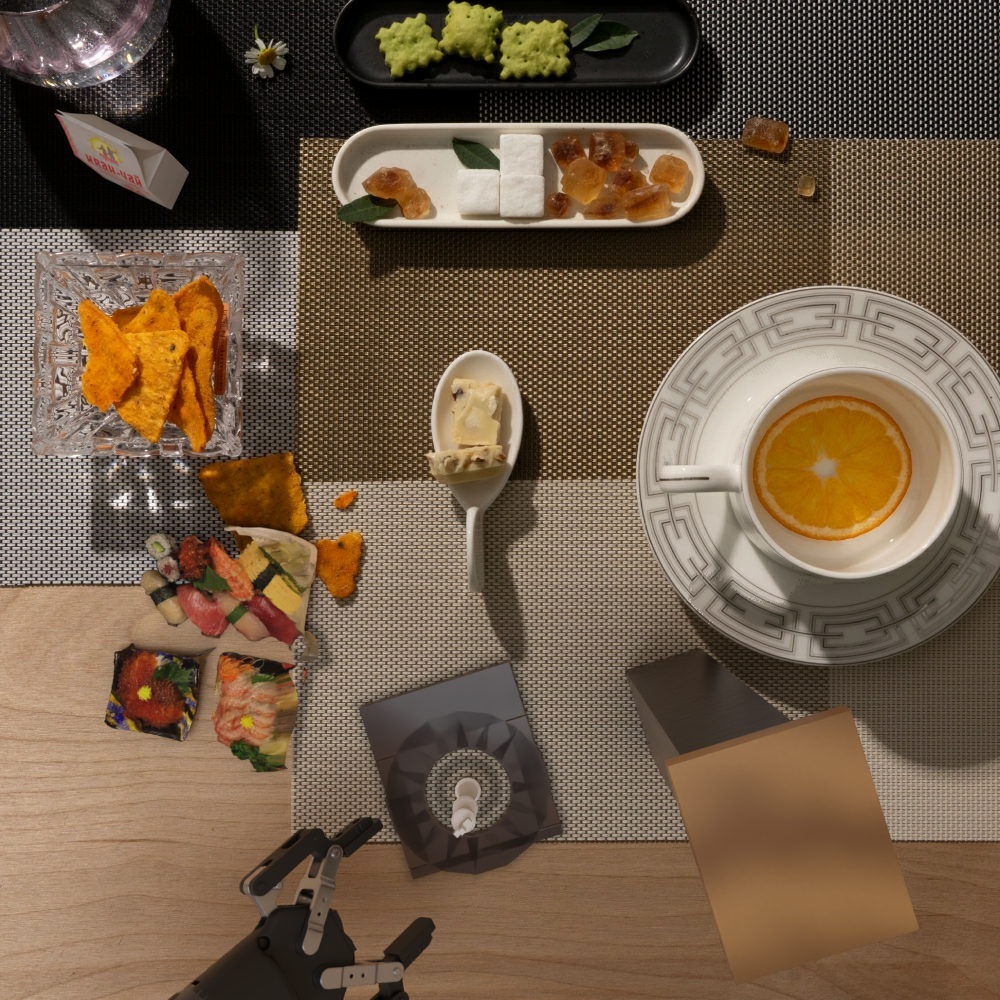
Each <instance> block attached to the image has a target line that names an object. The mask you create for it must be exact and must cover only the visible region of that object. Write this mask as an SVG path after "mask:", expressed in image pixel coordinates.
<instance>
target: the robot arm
mask: <svg viewBox="0 0 1000 1000" xmlns="http://www.w3.org/2000/svg"><path fill="white" fill-rule="evenodd" d="M384 827H385V826H384V824H383V822H382V820H381V818H380V817H371V816H361V817H357V818H354V819H353V820H352V821H350V822H349V823H348V824H347V825H345V827H343V828H342V829H340V830H339V831H338V832H336V834H334V835H333V836H331V837H330V838H329V837H327V836H326V835H325V832H324V830H323V829H322V828H320V827H313V828H299V829H298V830H297V831H296V832H294V833H293V834H292V835H291V836H290V837H288V839H286V840H285V841H284V842H283V843H282V844H281V845H279V846H278V847H277V848H276V849H275V850H274V851H273V852H271V853H269V855H267V857H266V858H264V859H263V860H262V861H261V862H260V863H258V864H257V865H256V866H255V867H254V868H253V869H252V870H251V871H249V872H248V873H247V874H246V875H244V877H242V878H241V879H240V882H239V884H238V888H239V892H240V893H241V894H242V895H245V896H248V897H249V898H250V900H251V901H252V903H253V905H254V906H255V908H256V909H257V911H258V913H259V914H260V919H259V920H258V922H257V924H256V926H255V927H254V928H253V930H252V931H251V932H250V933H249V934H247V936H245V937H244V938H243V939H241V940H240V941H239V942H237V944H235V945H234V946H233V947H231V948H230V949H229V950H227V952H226V953H225V954H224V955H222V956H221V957H220V958H218V959H217V960H216V961H215V962H214V963H212V964H211V965H210V966H208V967H207V968H206V969H205V970H204V971H203V972H202V973H200V974H199V975H198V976H197V977H195V978H194V979H193V980H192V981H191V982H189V983H188V984H187V985H186V986H185V987H183V989H181V990H180V991H179V992H178V991H177V992H175V993H174V994H173V995H171V996H170V997H169V998H168V999H167V1000H344V999H345V996H346V992H347V989H348V988H351V987H363V986H364V987H365V986H373V985H378V991H377V992H376V993H375V994H374V995H373V996H372V997H371V998H370V999H369V1000H410V996H409V993H408V992H406V991H405V987H404V986H405V985H404V975H405V972H406V971H407V969H408V968H409V967H410V966H411V965H412V964H413V963H414V962H415V961H416V960H417V959H418V957H420V955H421V954H422V953H423V952H425V951H426V949H427V948H428V947H429V946H430V945H431V943H432V940H433V938H434V937H433V935H432V934H433V932H435V930H436V928H437V927H436V924H435V923H434V920H433V918H432V917H426V916H418V917H417V918H415V919H414V920H413V921H412V922H411V923H410V924H409V925H408V926H407V927H406V928H405V929H404V930H403V931H401V933H400V934H399V935H398V936H397V937H396V938H395V939H394V940H393V941H392V942H391V943H390V944H389V945H388V946H387V947H386V948H385V949H384V950H383V951H382V953H383V955H384V957H382V958H370V959H356V954H355V952H356V951H357V947H356V945H355V942H354V941H353V939H352V938H351V937H350V936H349V935H348V934H347V933H346V932H345V930H344V925H343V921H342V918H341V917H340V915H339V912H338V911H337V909H333V908H331V906H332V902H333V898H334V895H335V892H336V888H337V884H336V879H337V875H338V873H339V869H340V866H341V862H342V860H343V858H350V857H351V856H352V855H353V854H354V853H356V852H357V851H358V850H359V849H360V848H361V847H362V846H364V845H365V844H366V843H368V842H369V841H370V840H371V839H372V838H373V837H375V835H377V834H378V833H379V832H380V831H382V830H383V828H384ZM309 856H311V857H310V859H309V862H308V865H307V868H306V871H305V874H304V876H302V877H301V879H300V880H299V883H298V885H297V888H296V892H295V895H294V897H293V901H292V903H291V904H278V903H277V899H278V896H279V895H280V893H281V892H282V891H283V888H284V879H285V878H286V877H287V876H288V875H290V873H292V872H293V871H294V870H296V868H297V867H298V866H299V865H300V864H302V862H303V861H305V860H306V859H307V858H308V857H309Z"/></svg>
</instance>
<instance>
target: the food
mask: <svg viewBox="0 0 1000 1000" xmlns="http://www.w3.org/2000/svg"><path fill="white" fill-rule="evenodd" d="M217 526H218V527H220V528H223V530H224V531H227V532H234V531H235V532H236V533H237V534H238V535H239V536H247V537H248V536H249V537H251V540H252V541H251V542H250V544H249V543H247V544H246V547H245V548H244V550H243V552H242V554H241V553H240V554H239V555H238V558H235V559H232V558H231V557H230V556H229V555H228V554H227V552H226V551H227V550H225V544H224V543H223V542H220V541H219V540H217V539H216V537H214V536H213V535H210V537H209V539H208V540H206V541H205V540H204V541H201V539H199V538H198V537H197V536H196V535H195V534H191V535H189V536H188V535H187V536H184V537H183V540H181V542H180V544H179V546H178V545H176V543H177V542H176V539H175V538H174V537H173V536H172V535H171V534H166V533H164V532H155V533H152V534H150V535H149V536H148V537H147V539H145V540H144V543H145V544H144V548H145V550H147V553H148V554H149V555H150V557H151V558H152V559H153V560H154V561H155V565H156V569H149V570H146V571H144V572H143V573H142V576H141V577H140V580H139V584H140V586H141V587H142V588H143V589H144V590H145V593H144V595H146V596H148V597H150V599H151V600H152V602H153V604H154V606H155V608H156V610H157V611H158V613H160V615H161V616H162V617H163V618H164V620H165V621H166V623H167V625H168V626H170V627H174V628H177V627H178V626H179V625H180V624H182V623H184V622H186V621H187V620H188V619H189V620H190V622H191V623H192V624H193V625H195V626H196V627H197V628H198V629H199V630H200V634H201V635H202V636H203V637H206V638H210V639H211V640H212V639H213V640H215V639H218V640H219V639H221V638H222V637H221V636H222V634H223V632H224V631H225V630H227V628H228V626H229V624H231V625H232V626H233V628H234V629H235V630H236V632H238V633H240V634H241V635H243V637H245V639H246V640H247V641H248V642H260V641H263V640H264V639H267V638H275V639H276V640H277V641H278V642H280V643H281V642H282V643H284V644H286V645H287V646H288V649H289V651H290V652H291V651H292V645H293V644H294V643H295V641H296V640H297V639H298V638H299V637H300V636H301V635H303V637H302V645H306V647H305V649H304V650H303V652H302V654H301V655H300V656H299V658H298V659H297V660H296V662H302V663H303V662H305V663H306V664H309V663H312V662H314V661H316V660H317V658H318V656H319V643H318V640H317V638H316V637H315V636H314V635H313V633H312V632H311V631H310V630H305V626H306V625H305V624H306V618H307V613H308V606H309V599H310V593H311V587H312V583H313V582H314V581H315V577H316V569H317V561H318V549H317V547H316V545H315V544H313V543H311V542H310V541H307V540H306V539H304V538H302V537H300V536H297V535H295V534H293V533H291V532H287V531H283V530H278V529H273V528H267V527H241V526H239V525H226V524H225V525H224V524H217ZM181 580H183V581H186V582H187V583H183V584H177V582H178V581H181ZM261 592H262V594H263V595H260V593H261ZM133 644H134V643H133V642H131V643H130V644H129V645H128V646H127V647H125V648H123V649H121V650H116V651H114V652H113V661H112V662H113V676H112V682H111V689H110V693H109V698H108V702H107V707H106V709H105V717H104V721H103V722H104V724H105V725H106V726H107V727H108V728H111V729H113V730H120V731H129V732H136V733H144V734H148V735H153V736H157V737H161V738H165V739H168V740H174V741H178V742H181V743H182V742H183V743H184V742H185V741H186V739H187V738H188V734H189V732H190V730H191V728H192V725H193V721H194V718H195V717H196V712H197V710H198V708H197V704H198V697H199V687H200V682H201V676H202V675H203V674H204V668H205V666H206V665H205V664H207V658H208V656H209V655H211V653H213V651H214V650H216V647H213V648H211V649H207V650H204V651H201V652H198V653H195V654H191V655H190V654H180V653H179V654H178V653H169V652H164V651H151V650H150V651H149V650H148V651H147V650H143V649H136V648H135V646H134V645H133ZM296 668H297V665H296V664H293V663H288V662H283V661H282V662H281V661H277V660H273V659H269V658H266V657H259V656H258V657H257V656H253V655H247V654H241V653H238V652H234V651H224V652H221V654H219V658H218V662H217V665H216V676H215V686H214V691H215V692H214V693H213V694H214V695H215V696H217V695H218V693H219V692H218V691H219V690H218V689H219V685H220V683H221V686H220V694H219V698H218V701H219V702H218V703H217V706H216V708H215V707H213V708H212V711H211V712H210V714H211V717H210V718H211V719H210V720H211V721H212V723H213V726H212V727H213V730H214V732H215V733H216V734H217V742H218V743H220V744H223V745H225V746H226V747H228V749H230V751H231V753H232V755H233V756H234V757H237V759H238V760H240V761H245V760H246V761H247V760H249V763H250V764H251V765H252V768H253V769H254V770H256V771H255V773H273V772H280V771H285V770H288V769H289V767H287V766H286V759H287V754H288V745H289V742H290V740H291V737H292V734H293V732H294V729H295V727H296V722H297V716H298V712H299V711H298V710H299V696H298V691H297V688H296V686H295V683H294V681H293V679H292V677H291V674H290V670H294V669H296ZM302 675H303V676H302V679H303V680H302V686H305V684H306V681H307V677H308V669H307V668H306V667H305V666H303V670H302ZM302 690H304V688H303V687H302ZM215 709H216V711H215ZM112 714H114V716H112ZM250 772H252V771H250Z"/></svg>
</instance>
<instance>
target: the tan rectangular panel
mask: <svg viewBox="0 0 1000 1000" xmlns="http://www.w3.org/2000/svg"><path fill="white" fill-rule="evenodd" d="M664 763H665V766H666V769H667V773H668V776H669V779H670V782H671V785H672V789H673V792H674V795H675V798H676V800H675V802H676V801H677V802H676V804H677V808H678V811H679V813H680V817H681V820H682V823H683V827H684V830H685V833H686V837H687V840H688V844H689V846H690V849H691V852H692V855H693V859H694V861H695V865H696V868H697V871H698V874H699V878H700V881H701V884H702V887H703V890H704V891H703V892H704V894H705V897H706V900H707V904H708V907H709V909H710V913H711V916H712V919H713V923H714V926H715V928H716V929H715V930H716V932H717V936H718V938H719V942H720V944H721V948H722V951H723V954H724V957H725V960H726V964H727V967H728V970H729V973H730V976H731V978H732V981H733V982H734V984H735V985H736V986H738V985H741V984H744V983H747V982H751V981H755V980H758V979H761V978H764V977H767V976H771V975H774V974H778V973H780V972H784V971H788V970H790V969H793V968H798V967H800V966H804V965H807V964H810V963H814V962H817V961H819V960H820V961H821V960H823V959H827V958H830V957H833V956H837V955H840V954H843V953H846V952H850V951H853V950H857V949H860V948H863V947H867V946H869V945H870V946H871V945H872V944H876V943H879V942H882V941H885V940H889V939H892V938H895V937H898V936H903V935H906V934H909V933H912V932H915V931H919V930H920V926H919V923H918V920H917V917H916V914H915V910H914V907H913V904H912V901H911V897H910V894H909V891H908V888H907V885H906V882H905V878H904V875H903V872H902V869H901V865H900V862H899V859H898V855H897V852H896V850H895V846H894V843H893V840H892V837H891V833H890V830H889V828H888V824H887V821H886V818H885V814H884V811H883V808H882V805H881V801H880V799H879V795H878V792H877V788H876V785H875V782H874V779H873V776H872V772H871V770H870V766H869V763H868V760H867V757H866V754H865V750H864V747H863V744H862V741H861V738H860V734H859V731H858V728H857V725H856V722H855V719H854V716H853V712H852V709H850V708H848V707H846V705H844V704H842V705H839V706H835V707H831V708H829V709H825V710H822V711H819V712H816V713H812V714H810V715H809V714H808V715H806V716H802V717H799V718H796V719H793V720H791V721H790V722H786V723H783V724H780V725H777V726H773V727H770V728H767V729H764V730H760V731H757V732H754V733H751V734H747V735H744V736H741V737H738V738H734V739H731V740H728V741H725V742H721V743H718V744H715V745H712V746H708V747H705V748H702V749H699V750H695V751H692V752H689V753H686V754H682V755H679V756H676V757H673V758H669V759H666V760H664ZM675 798H674V799H675Z"/></svg>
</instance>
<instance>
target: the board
mask: <svg viewBox="0 0 1000 1000" xmlns="http://www.w3.org/2000/svg"><path fill="white" fill-rule="evenodd" d="M358 710H359V713H360V717H361V719H362V723H363V726H364V730H365V732H366V736H367V739H368V741H369V742H368V743H369V745H370V748H371V752H372V755H373V759H374V761H375V765H376V768H377V771H378V775H379V777H380V781H381V784H382V787H383V790H384V793H385V798H384V802H385V805H386V808H387V811H388V815H389V818H390V821H391V825H392V827H393V830H394V832H395V833H396V835H397V836H398V838H399V841H400V844H401V848H402V851H403V854H404V858H405V861H406V863H407V867H408V870H409V873H410V876H411V879H412V880H413V881H414V880H416V879H419V878H423V877H424V878H425V877H426V876H430V875H433V874H436V873H440V872H445V873H457V874H465V875H466V874H467V875H480V874H484V873H486V872H490V871H493V870H496V869H500V868H504V867H507V866H508V865H510V864H511V863H512V862H513V861H514V860H516V859H517V858H518V857H519V856H520V855H522V854H523V853H524V852H526V851H527V850H528V849H529V848H531V846H533V845H534V843H537V842H540V841H543V840H546V839H547V840H548V839H550V838H554V837H557V836H559V835H563V834H564V830H563V829H564V828H563V826H562V823H561V820H560V816H559V813H558V810H557V807H556V803H555V800H554V797H553V794H552V791H551V779H550V777H549V773H548V769H547V767H546V764H545V763H546V762H545V761H544V757H543V754H542V751H541V749H540V747H538V745H537V743H536V740H535V736H534V733H533V731H532V727H531V724H530V720H529V717H528V714H527V711H526V708H525V705H524V701H523V698H522V696H521V692H520V689H519V686H518V682H517V679H516V676H515V673H514V670H513V667H512V663H511V660H510V659H506V660H503V661H499V662H497V663H494V664H490V665H486V666H483V667H481V668H480V667H479V668H478V669H474V670H471V671H468V672H465V673H461V674H459V675H454V676H452V677H448V678H446V679H441V680H439V681H436V682H433V683H432V682H431V683H429V684H426V685H423V686H420V687H416V688H413V689H410V690H406V691H404V692H400V693H397V694H394V695H390V696H387V697H384V698H380V699H378V700H374V701H371V702H368V703H364V704H362V705H359V707H358ZM460 750H473V751H481V752H482V753H485V754H486V755H488V756H490V757H492V758H494V759H495V760H496V761H497V763H499V765H500V766H501V767H502V769H504V771H505V772H506V775H507V779H508V781H509V782H508V783H509V786H510V794H509V802H508V805H507V806H506V808H505V810H504V811H503V814H502V816H501V817H500V818H498V819H497V820H496V821H495V822H493V823H492V824H491V825H490V826H489V827H487V828H483V829H480V830H477V831H473V832H471V831H470V832H467V833H464V834H463V835H461V834H460V836H459V837H458V838H457V837H456V836H455V835H454V834H453V833H454V831H455V829H454V828H451V827H450V826H448V825H446V824H444V823H442V822H441V821H440V820H439V819H438V818H437V816H436V815H435V814H434V812H432V810H431V808H430V806H429V802H428V799H427V796H426V788H427V779H428V776H429V775H430V772H431V770H432V769H433V767H434V765H435V764H436V763H438V761H440V760H441V759H442V758H444V757H445V756H446V755H447V754H451V753H453V752H457V751H460Z"/></svg>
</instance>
